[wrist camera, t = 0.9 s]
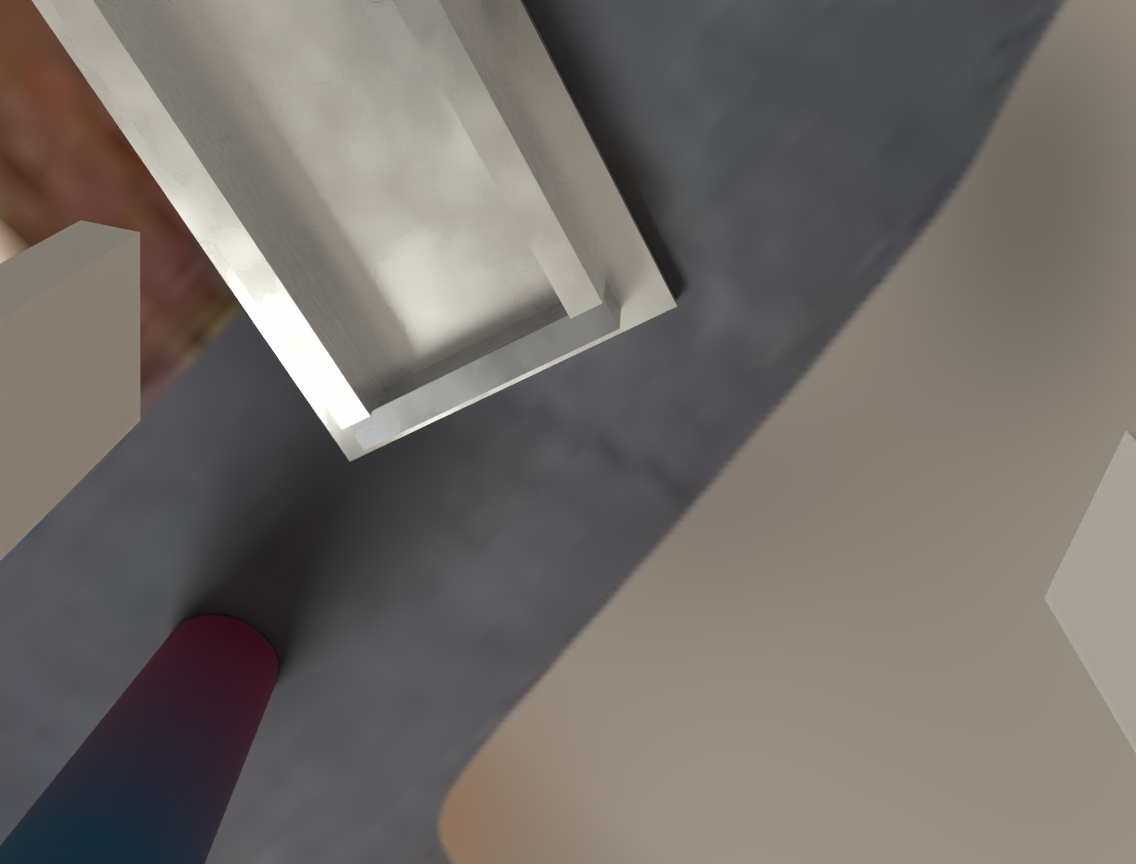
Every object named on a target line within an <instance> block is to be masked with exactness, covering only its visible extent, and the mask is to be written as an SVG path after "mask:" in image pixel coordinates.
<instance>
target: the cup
mask: <svg viewBox="0 0 1136 864" xmlns="http://www.w3.org/2000/svg"><path fill="white" fill-rule="evenodd" d="M278 672H279V669H278V661H277V657H276V654H275V652H274V650H273V648H272V647H271V645H270V643H269V642H268V641H267V640H266V639H265V637H264V636H263V635H262V634H260V633H259V632H258V631H257V630H256V629H254V628H253V627H251V626H249V625H248V624H246V623H244V622H242V621H240V620H237V619H235V618H231V617H227V616H223V615H201V616H197V617H193V618H190V619H188V620H186V621H184V622H182V623H181V624H180V625H179V626H177V627H176V628H175V629H174V631H173V632H172V633H171V634H170V636H169V637H168V638H167V639H166V641H165V642H164V643H163V644H162V646H161V647H160V648H159V649H158V651H157V652H156V653H155V654H154V656H153V657H152V658H151V659H150V661H149V662H148V663H147V664H146V665H145V667H144V668H143V669H142V670H141V672H140V673H139V674H138V675H137V677H136V678H135V679H134V680H133V682H132V683H131V684H130V685H129V687H128V688H127V689H126V690H125V692H124V693H123V694H122V695H121V697H120V698H119V699H118V700H117V702H116V703H115V704H114V705H113V706H112V708H111V709H110V710H109V711H108V713H107V714H106V715H105V716H104V718H103V719H102V720H101V721H100V723H99V724H98V725H97V726H96V728H95V729H94V730H93V731H92V733H91V734H90V735H89V736H88V738H87V739H86V740H85V741H84V742H83V744H82V745H81V746H80V747H79V749H78V750H77V751H76V752H75V754H74V755H73V756H72V757H71V759H70V760H69V761H68V762H67V764H66V765H65V766H64V767H63V769H62V770H61V771H60V772H59V774H58V775H57V776H56V777H55V778H54V780H53V781H52V782H51V783H50V785H49V786H48V787H47V788H46V790H45V791H44V792H43V793H42V795H41V796H40V797H39V798H38V800H37V801H36V802H35V803H34V805H33V806H32V807H31V808H30V810H29V811H28V812H27V813H26V815H25V816H24V817H23V818H22V819H21V821H20V822H19V823H18V824H17V826H16V827H15V828H14V829H13V831H12V832H11V833H10V834H9V836H8V837H7V838H6V839H5V841H4V842H3V843H2V844H1V846H0V864H205V861H206V859H207V856H208V853H209V851H210V848H211V846H212V843H213V841H214V838H215V836H216V833H217V831H218V828H219V826H220V823H221V821H222V818H223V815H224V813H225V810H226V808H227V805H228V803H229V800H230V798H231V795H232V793H233V790H234V788H235V785H236V783H237V780H238V777H239V775H240V772H241V770H242V767H243V765H244V762H245V760H246V757H247V755H248V752H249V750H250V747H251V745H252V742H253V740H254V737H255V734H256V732H257V729H258V727H259V724H260V722H261V719H262V717H263V714H264V712H265V709H266V707H267V704H268V702H269V699H270V696H271V694H272V691H273V689H274V686H275V684H276V681H277V678H278Z"/></svg>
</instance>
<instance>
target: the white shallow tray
mask: <svg viewBox="0 0 1136 864" xmlns="http://www.w3.org/2000/svg"><path fill="white" fill-rule="evenodd" d="M32 1H33V3H34V4H35V6H36V7H37V9H38V10H39V11H40V13H41V14H42V16H43V17H44V19H45V20H46V22H47V23H48V25H49V26H50V27H51V29H52V30H53V32H54V33H55V35H56V36H57V38H58V39H59V40H60V42H61V43H62V45H63V46H64V48H65V49H66V51H67V52H68V54H69V55H70V56H71V58H72V59H73V61H74V62H75V64H76V65H77V67H78V68H79V70H80V71H81V72H82V74H83V75H84V77H85V78H86V80H87V81H88V83H89V84H90V85H91V87H92V88H93V90H94V91H95V93H96V94H97V96H98V97H99V99H100V100H101V101H102V103H103V104H104V106H105V107H106V109H107V110H108V112H109V113H110V114H111V116H112V117H113V119H114V120H115V122H116V123H117V125H118V126H119V128H120V129H121V130H122V132H123V133H124V135H125V136H126V138H127V139H128V141H129V142H130V144H131V145H132V146H133V148H134V149H135V151H136V152H137V154H138V155H139V157H140V158H141V159H142V161H143V162H144V164H145V165H146V167H147V168H148V170H149V171H150V173H151V174H152V175H153V177H154V178H155V180H156V181H157V183H158V184H159V186H160V187H161V188H162V190H163V191H164V193H165V194H166V196H167V197H168V199H169V200H170V202H171V203H172V204H173V206H174V207H175V209H176V210H177V212H178V213H179V215H180V216H181V217H182V219H183V220H184V222H185V223H186V225H187V226H188V228H189V229H190V231H191V232H192V233H193V235H194V236H195V238H196V239H197V241H198V242H199V244H200V245H201V247H202V248H203V249H204V251H205V252H206V254H207V255H208V257H209V258H210V260H211V261H212V262H213V264H214V265H215V267H216V268H217V270H218V271H219V273H220V274H221V276H222V277H223V278H224V280H225V281H226V283H227V284H228V286H229V287H230V289H231V290H232V291H233V293H234V294H235V296H236V297H237V299H238V300H239V302H240V303H241V305H242V306H243V307H244V309H245V310H246V312H247V313H248V315H249V316H250V318H251V319H252V321H253V322H254V323H255V325H256V326H257V328H258V329H259V331H260V332H261V334H262V335H263V336H264V338H265V339H266V341H267V342H268V344H269V345H270V347H271V348H272V350H273V351H274V352H275V354H276V355H277V357H278V358H279V360H280V361H281V363H282V364H283V365H284V367H285V368H286V370H287V371H288V373H289V374H290V376H291V377H292V379H293V380H294V381H295V383H296V384H297V386H298V387H299V389H300V390H301V392H302V393H303V395H304V396H305V397H306V399H307V400H308V402H309V403H310V405H311V406H312V408H313V409H314V410H315V412H316V413H317V415H318V416H319V418H320V419H321V421H322V422H323V424H324V425H325V426H326V428H327V429H328V431H329V432H330V434H331V435H332V437H333V438H334V439H335V441H336V442H337V444H338V445H339V447H340V448H341V450H342V451H343V453H344V454H345V455H346V457H347V458H348V460H349V461H352V460H354V459H356V458H359V457H361V456H363V455H365V454H367V453H369V452H371V451H373V450H375V449H378V448H380V447H382V446H384V445H386V444H388V443H390V442H392V441H394V440H396V439H399V438H401V437H403V436H405V435H407V434H409V433H411V432H413V431H415V430H418V429H420V428H422V427H424V426H426V425H428V424H430V423H432V422H434V421H436V420H439V419H441V418H443V417H445V416H447V415H449V414H451V413H453V412H455V411H458V410H460V409H462V408H464V407H466V406H468V405H470V404H472V403H474V402H476V401H479V400H481V399H483V398H485V397H487V396H489V395H491V394H493V393H495V392H498V391H500V390H502V389H504V388H506V387H508V386H510V385H512V384H514V383H517V382H519V381H521V380H523V379H525V378H527V377H529V376H531V375H533V374H535V373H538V372H540V371H542V370H544V369H546V368H548V367H550V366H552V365H554V364H557V363H559V362H561V361H563V360H565V359H567V358H569V357H571V356H573V355H575V354H578V353H580V352H582V351H584V350H586V349H588V348H590V347H592V346H594V345H597V344H599V343H601V342H603V341H605V340H607V339H609V338H611V337H613V336H615V335H618V334H620V333H622V332H624V331H626V330H628V329H630V328H632V327H634V326H637V325H639V324H641V323H643V322H645V321H647V320H649V319H651V318H653V317H655V316H658V315H660V314H662V313H664V312H666V311H668V310H670V309H672V308H674V307H677V300H676V298H675V296H674V294H673V292H672V290H671V288H670V286H669V285H668V283H667V281H666V279H665V277H664V275H663V273H662V271H661V269H660V267H659V265H658V263H657V261H656V259H655V257H654V255H653V253H652V251H651V249H650V247H649V245H648V243H647V242H646V240H645V238H644V236H643V234H642V232H641V230H640V228H639V226H638V224H637V222H636V220H635V218H634V216H633V214H632V212H631V210H630V208H629V206H628V204H627V202H626V200H625V198H624V197H623V195H622V193H621V191H620V189H619V187H618V185H617V183H616V181H615V179H614V177H613V175H612V173H611V171H610V169H609V167H608V165H607V163H606V161H605V159H604V157H603V155H602V154H601V152H600V150H599V148H598V146H597V144H596V142H595V140H594V138H593V136H592V134H591V132H590V130H589V128H588V126H587V124H586V122H585V120H584V118H583V116H582V114H581V112H580V110H579V109H578V107H577V105H576V103H575V101H574V99H573V97H572V95H571V93H570V91H569V89H568V87H567V85H566V83H565V81H564V79H563V77H562V75H561V73H560V71H559V69H558V67H557V66H556V64H555V62H554V60H553V58H552V56H551V54H550V52H549V50H548V48H547V46H546V44H545V42H544V40H543V38H542V36H541V34H540V32H539V30H538V28H537V26H536V24H535V22H534V21H533V19H532V17H531V15H530V13H529V11H528V9H527V7H526V5H525V3H524V1H523V0H32Z"/></svg>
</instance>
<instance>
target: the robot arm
mask: <svg viewBox="0 0 1136 864" xmlns="http://www.w3.org/2000/svg"><path fill="white" fill-rule="evenodd" d="M139 421H140V232H136V231H131V230H126V229H121V228H116V227H111V226H106V225H101V224H96V223H91V222H86V221H79V222H77V223H75V224H73V225H71V226H69V227H68V228H66V229H64V230H62V231H60V232H58V233H57V234H55V235H53V236H51V237H49V238H47V239H45V240H44V241H42V242H40V243H38V244H36V245H34V246H32V247H31V248H29V249H27V250H25V251H23V252H21V253H20V254H18V255H16V256H14V257H12V258H10V259H8V260H7V261H5V262H3V263H1V264H0V561H1V560H2V559H3V558H4V557H5V556H6V555H7V554H8V553H9V552H10V551H11V550H12V549H13V548H14V547H15V546H16V545H17V544H18V543H19V542H20V541H21V540H22V539H23V538H24V537H25V536H26V535H27V534H28V533H29V532H30V531H31V530H32V529H33V528H34V527H35V526H36V525H37V524H38V523H39V522H40V521H41V520H42V519H43V518H44V516H45V515H46V514H47V513H48V512H49V511H50V510H51V509H52V508H53V507H54V506H55V505H56V504H57V503H58V502H59V501H60V500H61V499H62V498H63V497H64V496H65V495H66V494H67V493H68V492H69V491H70V490H71V489H72V488H73V487H74V486H75V485H76V484H77V483H78V482H79V481H80V480H81V479H82V478H83V477H84V476H85V475H86V474H87V473H88V472H89V471H90V470H91V469H92V468H93V467H94V466H95V465H96V464H97V463H98V462H99V461H100V460H101V459H102V458H103V457H104V456H105V455H106V454H107V453H108V452H109V451H110V450H111V449H112V448H113V447H114V446H115V445H116V444H117V443H118V442H119V441H120V440H121V439H122V438H123V437H124V436H125V435H126V434H127V433H128V432H129V431H130V430H131V429H132V428H133V427H134V426H135V425H136V424H137V423H138V422H139ZM1045 600H1046V602H1047V604H1048V605H1049V607H1050V609H1051V610H1052V612H1053V614H1054V615H1055V617H1056V618H1057V621H1058V622H1059V624H1060V625H1061V627H1062V629H1063V631H1064V632H1065V634H1066V636H1067V637H1068V639H1069V641H1070V643H1071V644H1072V646H1073V648H1074V649H1075V651H1076V653H1077V655H1078V656H1079V658H1080V659H1081V661H1082V663H1083V665H1084V666H1085V668H1086V670H1087V672H1088V673H1089V675H1090V677H1091V678H1092V680H1093V681H1094V683H1095V685H1096V687H1097V688H1098V690H1099V692H1100V694H1101V695H1102V697H1103V699H1104V700H1105V702H1106V704H1107V706H1108V707H1109V709H1110V711H1111V712H1112V714H1113V716H1114V717H1115V719H1116V721H1117V722H1118V724H1119V726H1120V728H1121V729H1122V731H1123V733H1124V734H1125V736H1126V738H1127V740H1128V741H1129V743H1130V744H1131V746H1132V748H1133V750H1134V751H1135V753H1136V432H1131V431H1126V432H1125V434H1124V436H1123V438H1122V440H1121V443H1120V444H1119V446H1118V448H1117V450H1116V453H1115V455H1114V457H1113V459H1112V461H1111V463H1110V465H1109V467H1108V469H1107V471H1106V473H1105V475H1104V477H1103V479H1102V481H1101V483H1100V485H1099V487H1098V489H1097V491H1096V493H1095V496H1094V497H1093V500H1092V502H1091V504H1090V506H1089V508H1088V510H1087V512H1086V514H1085V516H1084V518H1083V520H1082V522H1081V524H1080V526H1079V528H1078V530H1077V532H1076V534H1075V536H1074V538H1073V540H1072V542H1071V544H1070V547H1069V549H1068V551H1067V553H1066V555H1065V557H1064V559H1063V561H1062V563H1061V565H1060V567H1059V569H1058V571H1057V573H1056V575H1055V577H1054V579H1053V581H1052V583H1051V585H1050V588H1049V590H1048V591H1047V594H1046V596H1045Z"/></svg>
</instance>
